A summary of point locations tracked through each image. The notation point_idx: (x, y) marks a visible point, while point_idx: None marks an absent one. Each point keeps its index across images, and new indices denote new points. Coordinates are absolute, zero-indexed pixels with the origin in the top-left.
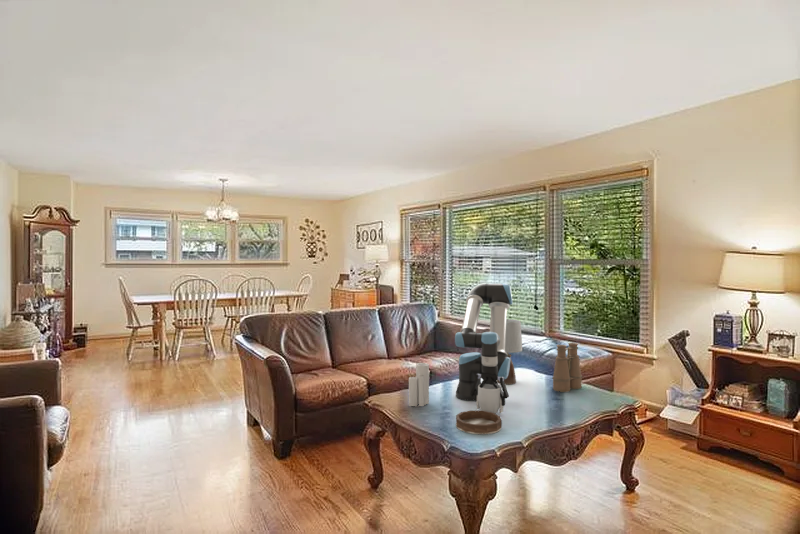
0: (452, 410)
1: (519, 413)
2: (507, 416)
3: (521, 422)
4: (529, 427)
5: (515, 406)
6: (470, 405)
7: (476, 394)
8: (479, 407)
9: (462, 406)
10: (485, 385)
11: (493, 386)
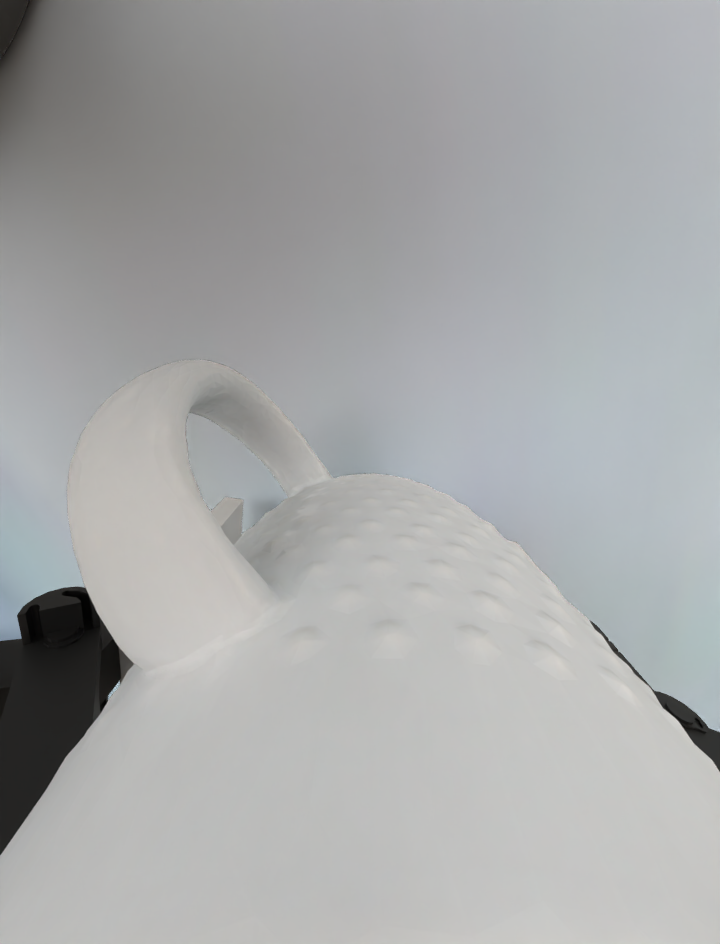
0: (16, 595)
1: (680, 439)
2: (547, 569)
3: (661, 658)
4: (707, 722)
5: (669, 136)
6: (75, 365)
7: (101, 709)
8: (238, 527)
9: (19, 442)
10: (90, 874)
11: (495, 783)
